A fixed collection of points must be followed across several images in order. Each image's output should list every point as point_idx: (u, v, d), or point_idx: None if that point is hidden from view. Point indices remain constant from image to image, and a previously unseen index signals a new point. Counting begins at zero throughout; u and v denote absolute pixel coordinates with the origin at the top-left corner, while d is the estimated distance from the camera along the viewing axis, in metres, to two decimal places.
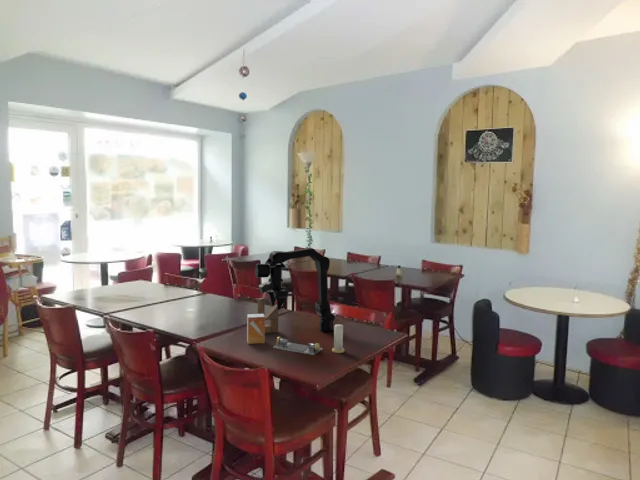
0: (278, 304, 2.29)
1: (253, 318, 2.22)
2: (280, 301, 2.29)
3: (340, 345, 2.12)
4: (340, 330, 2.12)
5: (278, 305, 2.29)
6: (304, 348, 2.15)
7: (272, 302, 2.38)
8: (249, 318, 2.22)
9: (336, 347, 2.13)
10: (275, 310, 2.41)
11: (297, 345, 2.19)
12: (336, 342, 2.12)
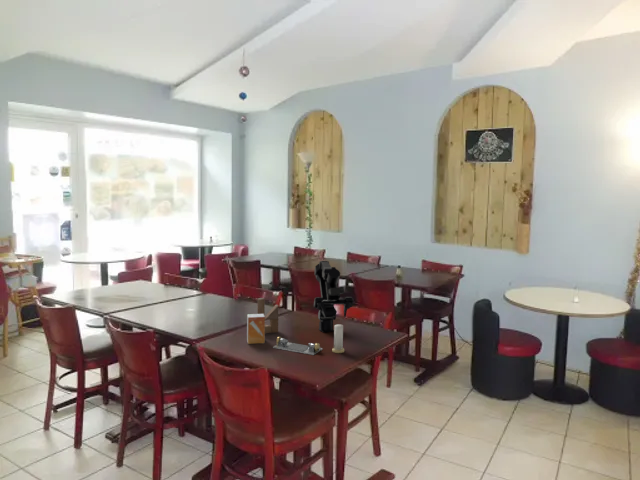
0: (346, 311, 2.23)
1: (253, 318, 2.22)
2: None
3: (340, 345, 2.12)
4: (340, 330, 2.12)
5: (346, 312, 2.23)
6: (304, 348, 2.15)
7: None
8: (249, 318, 2.21)
9: (336, 347, 2.13)
10: (275, 310, 2.41)
11: (297, 345, 2.19)
12: (336, 342, 2.12)
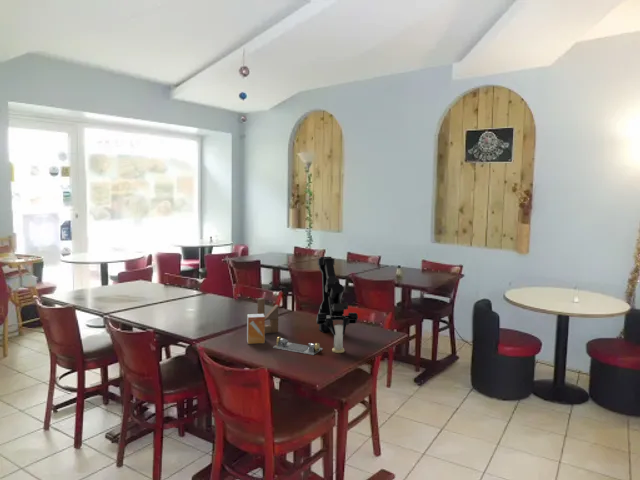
0: None
1: (253, 318, 2.22)
2: None
3: (340, 345, 2.12)
4: (340, 330, 2.12)
5: None
6: (304, 348, 2.15)
7: None
8: (249, 318, 2.22)
9: (336, 347, 2.13)
10: (275, 310, 2.41)
11: (297, 345, 2.19)
12: (336, 342, 2.12)
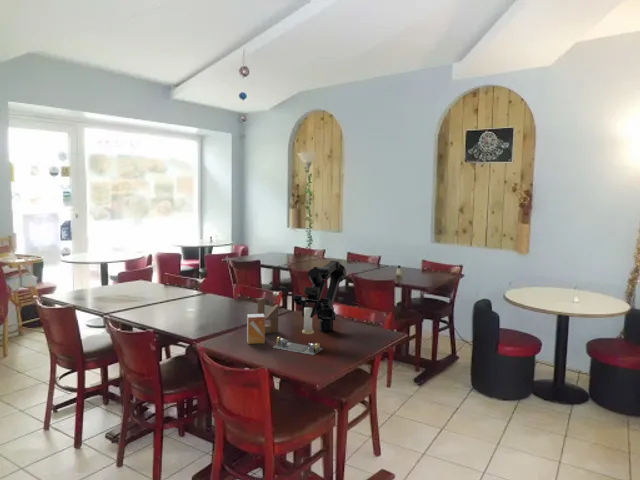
0: (314, 311, 2.23)
1: (253, 318, 2.22)
2: (316, 310, 2.24)
3: (307, 326, 2.23)
4: (307, 312, 2.22)
5: (313, 312, 2.23)
6: (304, 348, 2.15)
7: None
8: (249, 318, 2.22)
9: (304, 328, 2.24)
10: (275, 310, 2.41)
11: (297, 345, 2.19)
12: (304, 323, 2.24)
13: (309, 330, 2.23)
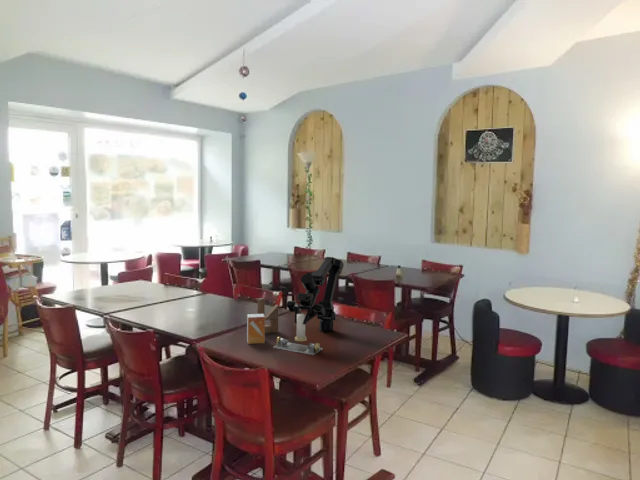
0: (307, 318, 2.17)
1: (253, 318, 2.22)
2: (309, 316, 2.19)
3: (299, 333, 2.17)
4: (300, 319, 2.17)
5: (306, 319, 2.17)
6: (304, 348, 2.15)
7: None
8: (249, 318, 2.22)
9: (297, 335, 2.18)
10: (275, 310, 2.41)
11: (297, 345, 2.19)
12: (297, 330, 2.18)
13: (302, 337, 2.17)
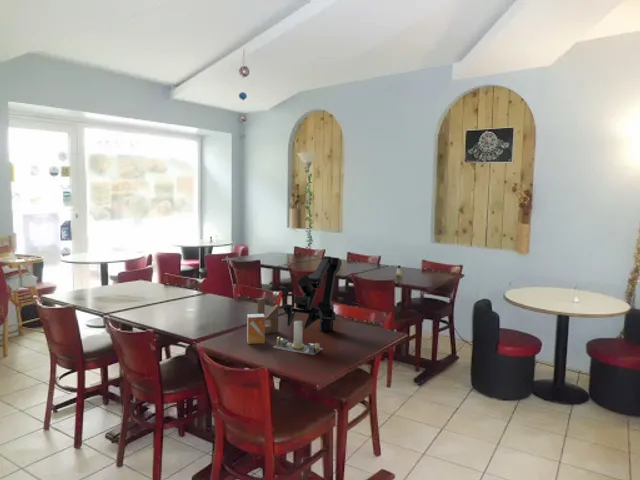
0: (308, 322, 2.14)
1: (253, 318, 2.22)
2: (310, 321, 2.15)
3: (296, 340, 2.15)
4: (297, 326, 2.14)
5: (307, 323, 2.14)
6: (304, 348, 2.15)
7: (289, 322, 2.18)
8: (249, 318, 2.22)
9: (294, 342, 2.16)
10: (275, 310, 2.41)
11: None
12: (294, 337, 2.16)
13: (299, 344, 2.15)
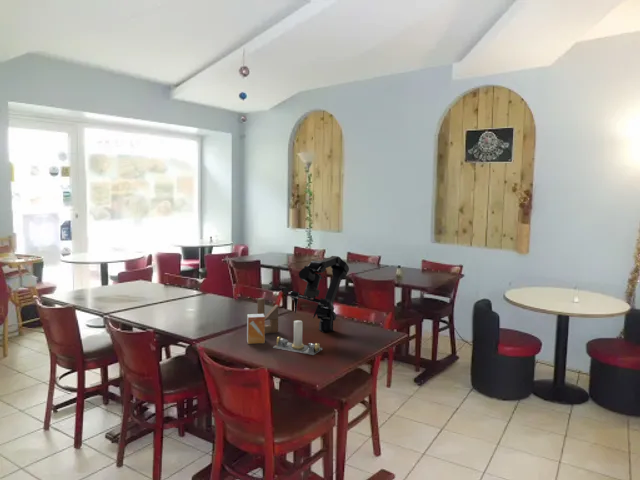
0: (317, 312, 2.28)
1: (253, 318, 2.22)
2: None
3: (296, 340, 2.15)
4: (297, 326, 2.14)
5: (316, 313, 2.28)
6: (304, 348, 2.15)
7: (296, 309, 2.29)
8: (249, 318, 2.22)
9: (294, 342, 2.16)
10: (275, 310, 2.41)
11: None
12: (294, 337, 2.16)
13: (299, 344, 2.15)
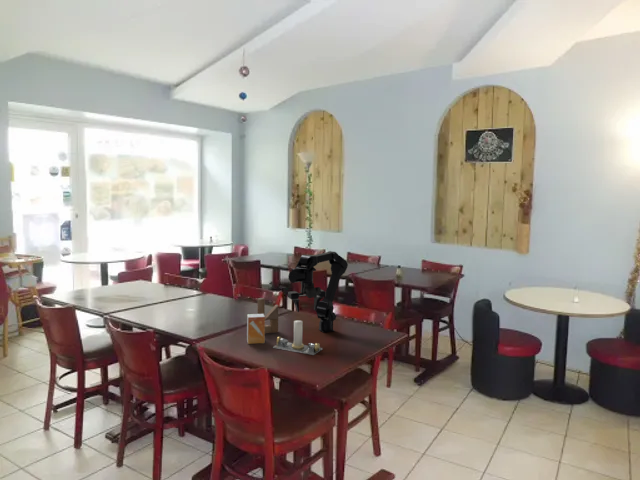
0: None
1: (253, 318, 2.22)
2: None
3: (296, 340, 2.15)
4: (297, 326, 2.14)
5: None
6: (304, 348, 2.15)
7: None
8: (249, 318, 2.22)
9: (294, 342, 2.16)
10: (275, 310, 2.41)
11: None
12: (294, 337, 2.16)
13: (299, 344, 2.15)
